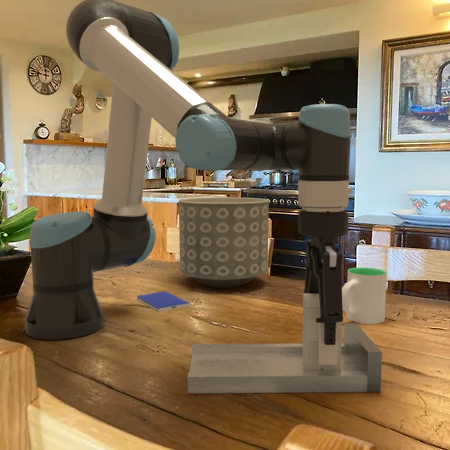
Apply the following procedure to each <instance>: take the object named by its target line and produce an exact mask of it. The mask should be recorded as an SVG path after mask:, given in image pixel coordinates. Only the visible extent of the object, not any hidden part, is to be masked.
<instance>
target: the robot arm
mask: <svg viewBox="0 0 450 450" xmlns="http://www.w3.org/2000/svg"><path fill="white" fill-rule="evenodd" d="M65 27H66V29H65V32H66V38H67V43H68V44H69V47H70V49H71V50H72V52H73V53H74V54H75V56H76V58H78V60H80V61H81V63H83V64H84V65H85V66H86V67H88V69H90V70H92V71H95V72H101V73H103V74H104V75H105V76H106V77H107V79H108V80H109V81H110V82H111V85H112V91H111V100H110V101H111V103H110V110H109V111H110V112H109V122H108V132H107V140H106V141H107V143H106V154H105V162H104V164H105V165H104V173H103V174H104V175H103V182H102V183H103V184H102V195H101V199H99V200H98V201H97V202H95V203H94V205H93V212H92V215H91V214H90V212H88V211H83V210H82V211H80V210H79V211H76V210H75V211H68V212H58V213H54V214H53V213H52V214H49V215H45V216H41V217H40V218H37V219H36V220H35V221H33V222H32V224H31V226H30V235H29V236H30V238H29V239H30V240H29V246H30V258H31V274H32V292H33V293H32V296H31V300H30V303H29V307H28V311H27V314H26V317H25V334H26V335H27V336H29V337H31V338H33V339H37V340H38V339H39V340H44V341H45V340H47V341H49V340H51V341H53V340H54V341H56V340H57V341H58V340H69V339H75V338H81V337H84V336H87V335H90V334H93V333H95V332H97V331H99V330H101V329H102V328H103V326H104V315H103V314H104V312H103V310H102V307H101V305H100V302H99V300H98V297H97V295H96V292H95V289H94V273H96V272H101V271H106V270H111V269H117V268H122V267H125V268H127V267H130V266H133V265H135V264H139V263H142V262H143V261H144V260H146V259H147V258H148V257H149V256H150V255H151V253H152V251H153V249H154V248H155V244H156V243H155V242H156V229H155V227H153V226H154V223H153V220H152V219H151V218H150V217H149V216H148V212H149V211H148V209H147V208H146V206H144V204H143V193H144V188H145V187H144V186H145V179H146V177H145V176H146V169H147V168H146V167H147V162H148V161H147V159H148V152H149V145H150V144H149V143H150V137H151V136H150V135H151V127H152V118H153V120H154V121H155V122H157V124H158V125H160V126H161V127H162V128H163V129H164V130H165V131H166V132H167V133H169V134H170V135H171V136H172V137H173V138H174V139H175V141H174V143H175V149H176V152H177V153H178V155H179V159H180V161H181V162H182V163H183V164H184V165H185V166H186V167H189V168H191V169H194V170H200V171H201V170H202V171H205V172H218V171H250V172H251V171H252V172H257V171H258V172H263V171H287V170H288V171H290V170H292V171H298V183H297V184H298V185H297V186H298V187H297V189H298V190H297V191H298V192H297V193H298V195H297V196H298V197H297V198H298V201H297V203H298V205H297V206H299V207H300V208H301V210H299V211H298V218H297V219H298V220H297V221H298V223H297V224H298V225H297V228H298V229H297V231H298V233H299V235H302V236H305V237H311V239H306V242H305V245H306V255H305V256H306V259H305V272H304V273H305V276H304V277H305V278H304V279H305V280H304V290H303V294H304V293H311V294H319V301H320V314H321V317H320V318H317V319H316V323H319V330H318V364H319V365H337V354H338V323H339V322H342V323H343V321H344V316H343V315H344V314H343V313H344V312H343V311H344V310H343V309H342V288H343V284H342V281H343V280H342V262H343V260H342V259H343V254H342V252H341V251H339V248H338V247H336V241H335V240H336V238H337V237H344V236H347V234H348V233H349V216H350V214H349V212H348V211H347V210H345V208H347V207H349V197H350V196H349V195H350V194H352V193H353V188H352V186H350V159H351V158H350V157H351V139H352V134H351V113H350V110H349V109H348V108H347V107H346V106H345V105H342V104H337V103H319V104H316V103H315V104H310V105H306V106H303V107H301V109H300V110H299V114H298V115H299V116H298V120H295V121H290V122H273V123H270V122H269V123H268V122H267V123H266V122H261V121H251V120H246V119H239V118H238V119H237V118H233V117H230V116H228V115H227V114H225V113H224V112H223V111H221V110H220V109H219V108H218V107H216V106H215V105H214V104H213V103H212V102H210V101H209V100H208V99H207V98H206V97H204V96H203V95H202V94H201V93H200V92H198V91H197V90H196V89H194V88H193V87H192V86H191V85H189V84H188V83H187V82H186V81H185V80H184V79H182V78H181V77H180V76H179V75H178V74H176V73H175V72H174V68H175V67H177V66H176V65H177V63H178V60H179V56H180V43H179V37H178V34H177V32H176V30H175V28H174V27H173V25H172V24H171V23H170V21H169V20H167V19H166V18H165V17H162V16H160V15H158V14H157V13H153V11H148V10H144V9H141V8H138V7H134V6H131V5H129V4H125V3H122V2H119V1H116V0H83V1H81V2H79V3H78V4H77V5H75V7H74V8H73V9H72V10H71V12H70V13H69V16H68V17H67V20H66V26H65ZM330 313H334V314H330Z"/></svg>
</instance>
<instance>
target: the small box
mask: <svg viewBox="0 0 450 450" xmlns="http://www.w3.org/2000/svg"><path fill="white" fill-rule="evenodd" d="M330 314H334V313H330ZM320 317H321V314H320V301H319V294H311V293H304V292H303V294H302V340H301V341H302V354H303V365H304V372H322V371H341V343H342V334H343V331H342V330H343V328H342V327H343V326H342V325H343V324H342V323H343V321H342V322H339V323H338V354H337V365H319V364H318V330H319V323H316V319H317V318H320Z"/></svg>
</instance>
